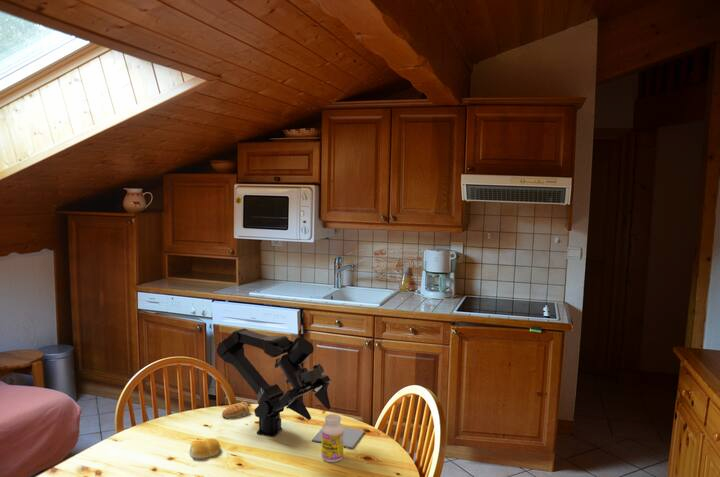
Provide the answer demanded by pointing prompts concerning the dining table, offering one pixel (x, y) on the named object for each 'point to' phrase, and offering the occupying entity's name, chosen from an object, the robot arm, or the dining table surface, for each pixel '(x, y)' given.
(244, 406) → the pastry
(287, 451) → the dining table surface
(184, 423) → the dining table surface
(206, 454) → the bread roll
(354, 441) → the rubber mat
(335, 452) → the supplement bottle
